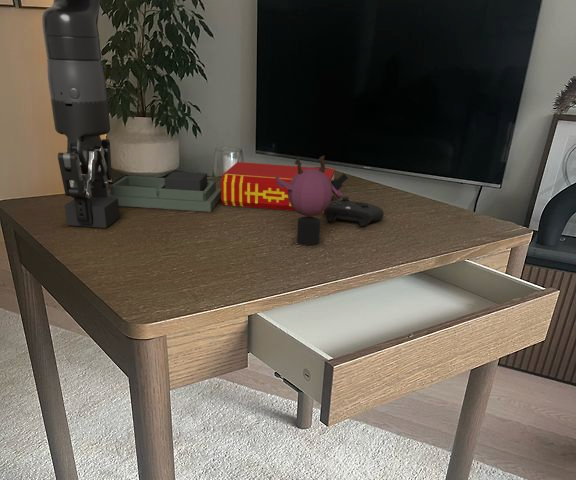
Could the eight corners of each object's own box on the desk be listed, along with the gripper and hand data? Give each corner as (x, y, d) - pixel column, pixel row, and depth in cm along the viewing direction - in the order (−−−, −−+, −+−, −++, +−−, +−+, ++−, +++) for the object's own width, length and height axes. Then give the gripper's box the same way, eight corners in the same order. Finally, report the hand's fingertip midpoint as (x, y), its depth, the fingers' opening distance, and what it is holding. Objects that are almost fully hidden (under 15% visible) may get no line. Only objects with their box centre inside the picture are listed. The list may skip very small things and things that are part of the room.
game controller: (385, 213, 99) (382, 192, 94) (377, 242, 98) (373, 222, 93) (330, 206, 102) (324, 185, 97) (321, 233, 101) (315, 214, 96)
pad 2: (165, 196, 101) (164, 178, 100) (174, 188, 106) (173, 171, 105) (200, 199, 101) (199, 180, 99) (207, 190, 106) (207, 173, 104)
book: (221, 205, 103) (220, 175, 101) (237, 189, 114) (237, 162, 111) (326, 214, 101) (328, 184, 99) (332, 196, 112) (334, 169, 110)
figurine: (343, 239, 89) (350, 154, 83) (323, 254, 83) (330, 164, 77) (294, 231, 92) (298, 148, 86) (271, 244, 86) (273, 156, 80)
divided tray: (104, 205, 101) (102, 186, 99) (124, 191, 109) (122, 174, 108) (210, 211, 100) (210, 193, 98) (221, 197, 108) (221, 180, 107)
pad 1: (67, 225, 89) (64, 205, 88) (82, 214, 95) (80, 195, 93) (106, 228, 89) (104, 207, 88) (119, 217, 94) (117, 197, 93)
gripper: (73, 90, 89) (87, 204, 98) (28, 99, 77) (49, 229, 86) (122, 93, 89) (132, 207, 98) (85, 103, 77) (101, 232, 85)
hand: (93, 217), depth 92 cm, fingers closed on pad 1, 6 cm apart
